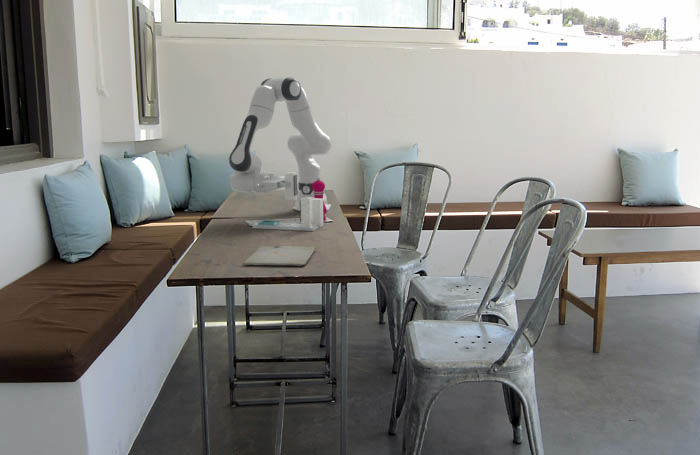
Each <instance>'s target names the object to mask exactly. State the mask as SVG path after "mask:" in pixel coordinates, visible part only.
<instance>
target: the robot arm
mask: <svg viewBox="0 0 700 455" xmlns="http://www.w3.org/2000/svg"><path fill="white" fill-rule="evenodd" d="M284 101H285V103H286V108H287V112H288V115H289V118H290V122H291V125H292V126H293V128H295V130H297V132H299V133H293V134H292V135H290V136H289V137H288V140H287V149H288V150H289V151H290V153H292V155H293V156H294V158H295V160H296V163H297V167H298V181H299V182H297V189H298V195H297V199H295V206H293V207H292V209H293V210H296V211H299V212H300V200H301V198H303V197H313V199H314V198H315V197H314V194H313V193H314V192H313V191H314V190H313V188H312V184H313V183H314V182H315V181H317V178H318V177H319V178H320V181H322V179H321V178H322V177H321V176H322V174H321V173H322V170H321V168H322V167H321V166H320V165H319V164H318V162H316V160H315V158H314V156H324V155H327V154H328V153H330V151H331V150H332V145H333V143H332V139H331V138H330V136H329V135H327V134H326V133H325V132H324V131H323V130H322V129H321V128H320V127H319V125H318V124H317V121H316V120H315V118H314V114H313V111H312V108H311V104H310V101H309V98H308V95H307V93H306V91H305V89H304V88H303V87H302V86H301V83H300V82H299V80H298V79H296V78H294V77H290V76H289V77H286V76H285V77H284V76H283V77H282V76H279V77H273V78H271V77H270V78H267V79H264V80H263V81H261V84H260V85H259V86H257V87H256V88H255V91H254V93H253V95H252V98H251V100H250V105H249V109H248V113H247V115H246V117H245V119H244V121H243V123H242V127H241V129H240V132H239V135H238V137H237V141H236V145H235V146H234V148H233V149H232V151H231V153H230V154H229V158H228V163H229V166H230V167H231V168H232V170H234V171H233V173H232V174H230V175H229V185H230V187H231V188H232V190H233V191H235V192H240V193H253V192H254V193H260V194H268V193H269V192H270V191H276V190H279V189H282V188H285V187H290V186H291V183H290V182H287V183H285V175H284V176H283V175H275V174H273V173H262V172H261V168H262V161H261V159H260V157H258V156H257V155H256V154H253V153H251V147H252V143H253V140H254V137H255V134H256V133H257V131H258V130H261V129H265V128H267V127H268V126H269V125H270V123H272V120H273V115H274V111H275V106H276V103H277V102H284ZM323 201H324V204H325V206H326V209H327V211H329V210H330V208H331V207H332V205H331V204H330V203H329V204H328V202H327V194H326V193H325V192H324V194H323Z"/></svg>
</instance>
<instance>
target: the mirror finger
mask: <svg viewBox="0 0 700 455" xmlns="http://www.w3.org/2000/svg"><path fill="white" fill-rule="evenodd" d="M313 224H319V228H321V227H323V226H324V221H323V199H321V198H314V199H313Z"/></svg>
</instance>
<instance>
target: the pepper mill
mask: <svg viewBox="0 0 700 455" xmlns="http://www.w3.org/2000/svg"><path fill="white" fill-rule="evenodd" d="M312 188H313V190H314V191H313V192H314V193H313V194H314V197H315V198H321V199H323V194H324V193H325V189H326V184H325V182H324V181H322V180H321V181H320V178H319V177H318V178H317V181H315V182H314V183H313V184H312ZM327 211H328V210H327V209H326V206H325V204H324V201H323V222H325V221H327V216H326V214H327Z"/></svg>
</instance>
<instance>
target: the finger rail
mask: <svg viewBox="0 0 700 455" xmlns="http://www.w3.org/2000/svg"><path fill="white" fill-rule="evenodd" d="M299 219H300V222H301V223H298V222H295V223H294V222H281V221H280V220H276V219H275V220H274V219H273V220H272V219H263V220H260V221H258V222H255V223H252V224H251V229H259V230H260V229H265V230H279V231H280V230H283V231H284V230H285V231H305V232H315V231H316V230H318V229H319V228H320V227H319V224H313V197H303V198H301V200H300V211H299Z"/></svg>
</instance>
